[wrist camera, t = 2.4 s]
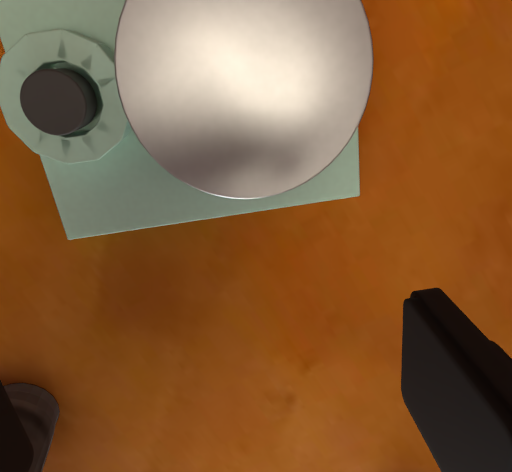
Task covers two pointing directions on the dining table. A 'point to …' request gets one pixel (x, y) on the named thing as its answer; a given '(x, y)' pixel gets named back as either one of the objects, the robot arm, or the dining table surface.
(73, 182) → the scale
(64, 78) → the button
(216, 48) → the scale pan
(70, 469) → the dining table surface
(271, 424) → the dining table surface
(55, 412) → the beverage cup
